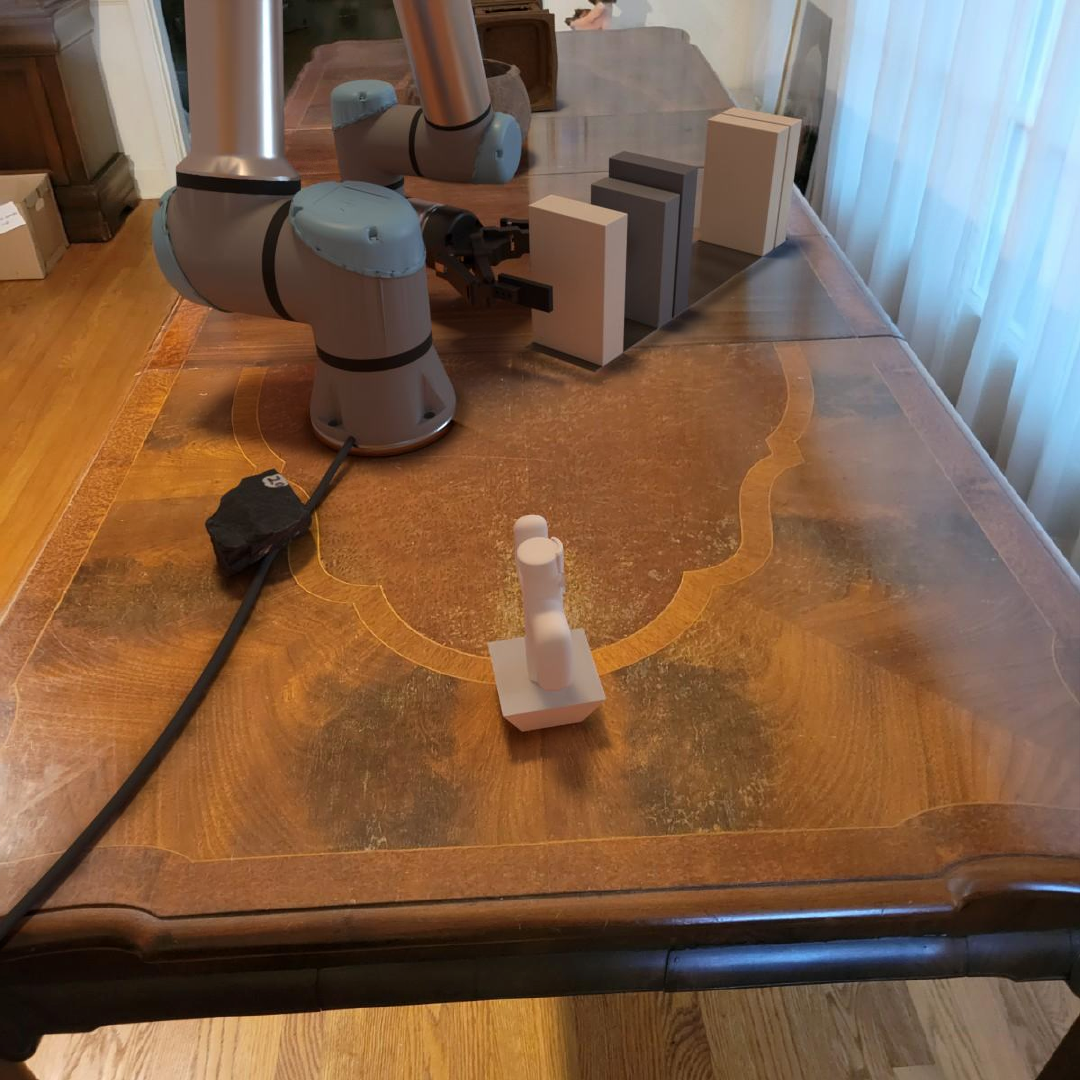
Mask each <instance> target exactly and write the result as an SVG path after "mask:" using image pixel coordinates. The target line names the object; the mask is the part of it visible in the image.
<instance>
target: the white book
mask: <svg viewBox="0 0 1080 1080" xmlns="http://www.w3.org/2000/svg"><path fill="white" fill-rule="evenodd" d="M627 215H628V214H626V213H623V212H619V211H615V210H611V209H607V208H603V207H599V206H595V205H591V203H587V202H583V201H579V200H575V199H571V198H567V197H563V196H560V195H556V194H552V193H551V194H549V195H547V196H545V197H543V198H541V199H538V200H537V201H535V202H532V203H530V204H528V219H529V239H530V253H529V268H530V269H529V270H530V280H531V281H535V282H539V283H543V284H547V285H551V286H553V311H552V312H550V313H547V312H543V311H540V310H536V309H532V308H531V331H532V332H531V333H532V342H535V343H538V344H541V345H544V346H546V347H549V348H552V349H555V350H558V351H561V352H563V353H566V354H569V355H572V356H575V357H578V358H580V359H583V360H586V361H589V362H592V363H595V364H597V365H600V366H603V367H605V366H606V365H608V364H609V363H611V362H612V361H614V360H615V359H616V358H618V357H619V356H621V355H622V354H624V353H623V335H624V305H625V275H626V245H627ZM621 353H622V354H621ZM620 354H621V355H620ZM618 355H619V356H618ZM617 356H618V357H617ZM614 358H615V359H614ZM613 359H614V360H613ZM611 360H612V361H611ZM610 361H611V362H610ZM608 362H609V363H608ZM607 363H608V364H607ZM605 364H606V365H605ZM604 365H605V366H604Z"/></svg>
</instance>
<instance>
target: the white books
mask: <svg viewBox="0 0 1080 1080" xmlns="http://www.w3.org/2000/svg"><path fill="white" fill-rule="evenodd" d="M802 123H803V119H801V118H796V117H795V118H794V117H789V116H784V115H778V114H773V113H767V112H762V111H756V110H750V109H746V108H739V107H730V108H729V109H726V110H724V111H722V112H721V113H719V114H716V115H714V116H712V117H710V118H708V119H707V124H706V125H707V126H706V137H705V139H706V140H705V151H704V164H703V165H704V166H703V177H702V189H701V201H700V213H699V226H698V237H697V239H698V240H701V241H705V242H708V243H712V244H716V245H720V246H724V247H728V248H732V249H735V250H739V251H743V252H747V253H751V254H755V255H758V256H763V257H765V256H767V255H768V254H769V253H771V252H772V251H774V250H773V248H775V249H777V248H778V247H780V246H781V245H782V244H784V243H786V241H785V239H786V238H787V231H788V223H789V217H790V209H791V201H792V195H793V188H794V182H795V181H794V180H795V173H796V165H797V160H798V159H797V158H798V151H799V144H800V138H801V137H800V136H801V130H802ZM698 240H697V241H698ZM783 242H784V243H783ZM780 244H781V245H780ZM777 246H778V247H777ZM776 247H777V248H776ZM771 250H772V251H771ZM770 251H771V252H770ZM768 252H769V253H768ZM767 253H768V254H767ZM764 255H765V256H764Z"/></svg>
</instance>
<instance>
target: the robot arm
mask: <svg viewBox="0 0 1080 1080" xmlns="http://www.w3.org/2000/svg"><path fill="white" fill-rule="evenodd" d="M392 3H393V7H394V10H395V14H396V17H397V21H398V25H399V28H400V33H401V36H402V40H403V43H404V48H405V51H406V54H407V58H408V62H409V66H410V69H411V72H412V75H413V77H414V80H415V84H416V88H417V91H418V95H419V99H420V102H421V106H422V107H421V106H410V105H404V104H399V100H398V97H397V94H396V89H395V87H394V85H393V84H392V83H390V82H389V81H388V82H387V81H383V80H380V79H356V80H349V81H346V82H342V83H340V84H339V85H337V86H335V87H334V88H333V89H332V91H331V92H330V111H331V123H332V126H331V131H332V132H333V138H334V146H335V151H336V159H337V164H338V166H337V167H338V171H339V178H340V182H336V181H334V180H329V181H323V182H318V183H314V184H311V185H308V186H305V187H302V175H301V174H300V173H299V172H298V171H297V170H296V168H295V167H294V166H293V165H292V164H291V163H290V162H289V161H288V159H287V156H286V150H285V149H286V148H285V147H286V143H285V142H286V141H285V137H286V136H285V83H284V82H285V80H284V79H285V77H284V76H285V75H284V71H285V70H284V17H283V16H284V15H283V13H284V11H283V10H284V9H283V7H284V6H283V0H183V4H184V5H183V6H184V7H183V8H184V27H185V47H186V67H187V86H188V88H187V89H188V106H189V107H188V108H189V126H190V128H189V129H190V150H189V151H188V153H187V155H186V156H184V158H183V159H182V160H181V161H180V162H179V163H178V164H176V165H175V182H176V183H175V185H174V186H172V187H170V188H169V189H167V190H166V191H165V192H164V193H163V194H161V195H162V196H160V198H159V200H158V201H157V202H158V206H159V208H158V209H157V208H156V209H155V210H154V212H153V215H152V223H151V224H152V225H151V238H152V247H153V251H154V255H155V259H156V261H157V264H158V268H159V269H160V271H161V273H162V275H163V276H164V278H165V281H166V282H167V283H168V285H170V286H171V288H174V290H176V292H177V294H178V295H179V296H180V297H182V298H183V299H185V300H186V301H188V302H190V303H193V304H194V305H198V306H202V307H207V308H211V309H213V310H216V311H218V312H221V313H224V314H233V313H238V314H243V315H250V316H256V317H263V318H268V319H275V320H281V321H286V322H295V323H299V324H300V323H301V324H306V325H308V326H310V327H311V331H312V335H313V339H314V345H315V350H316V354H317V355H316V356H317V362H316V367H315V374H314V378H313V379H314V380H313V386H312V391H311V397H310V404H309V412H310V413H309V415H310V421H311V426H312V430H313V433H314V435H315V437H316V438H317V439H318V440H319V441H320V442H321V443H322V444H324V445H325V446H327V447H329V448H331V449H333V450H335V451H337V454H336V456H335V457H334V458H333V460H332V461H331V464H330V465H329V467H328V468H327V470H326V471H325V473H324V475H323V476H322V479H321V480H320V482H319V483H318V485H317V487H316V489H315V490H314V491H313V493H312V495H311V496H310V497H309V498H308V500H307V501H306V502H305V503H304V504H305V506H306V507H307V509H308V511H309V512H310V513H311V512H312V510H313V509H314V508H315V507H316V505H317V504H318V502H319V501H320V500H321V499H322V497H323V496H324V494H325V492H326V490H327V488H328V487H329V485H330V483H331V482H332V480H333V478H334V477H335V475H336V473H337V472H338V470H339V468H340V467H341V465H342V464H343V463H344V461H345V459H346V458H347V456H348V455H352V456H353V455H354V456H360V457H387V456H396V455H400V454H405V453H409V452H413V451H415V450H419V449H421V448H424V447H426V446H428V445H430V444H432V443H435V442H436V441H437V440H439V439H440V438H442V437H443V436H445V434H447V433H448V432H449V431H450V430H451V428H452V427H453V425H454V424H455V423H456V420H455V419H453V417H454V415H455V413H456V411H457V406H458V405H457V404H458V403H457V402H458V401H457V396H456V392H455V389H454V386H453V384H452V382H451V380H450V377H449V375H448V374H447V371H446V369H445V367H444V365H443V363H442V361H441V358H440V356H439V354H438V352H437V350H436V348H435V346H434V339H433V338H434V337H433V329H432V318H431V307H430V297H429V286H428V276H427V269H431V270H433V271H435V276H436V277H437V278H440V279H442V280H444V281H447V282H448V283H449V285H451V286H452V288H454V289H455V291H456V292H457V293H459V294H460V295H461V297H462V298H463V299H465V301H466V302H468V304H470V305H471V306H474V307H476V306H479V305H481V304H482V300H484V305H485V307H486V308H495V307H496V306H497V300H500V301H504V302H507V303H511V304H515V305H518V306H522V307H525V308H529V309H531V310H532V309H536V310H540V311H543V312H547V313H550V312H552V311H553V286H551V285H547V284H543V283H539V282H535V281H531V279H528V278H524V277H520V276H517V275H512V274H508V273H504V272H500V273H498V274H497V279H496V275H495V273H494V271H493V268H492V267H496V266H499V265H500V264H501V263H502V262H503V261H507V260H514V259H515V260H517V259H521V258H522V256H523V255H524V254H525V255H526V254H530V239H529V218H528V219H527V218H525V219H524V218H522V219H521V218H520V219H519V218H513V217H506V216H505V217H500V218H499V226H496V225H487V226H484V225H483V224H482V222H481V220H479V218H478V216H477V215H476V214H475V213H474V212H473V211H471V210H469V209H465V208H461V207H456V206H451V205H447V204H443V203H442V202H438V201H437V202H436V201H431V200H428V199H423V198H417V197H413V196H410V195H406V193H405V177H413V178H414V177H415V178H426V179H435V180H443V181H451V182H459V183H469V184H471V185H475V186H476V185H490V186H491V185H492V186H493V185H494V186H495V185H496V186H497V185H499V186H500V185H505V184H507V183H509V182H510V181H511V180H512V179H513V177H514V176H515V173H516V172H517V171H518V168H519V165H520V162H521V156H522V144H523V142H522V141H521V131H520V127H519V125H518V123H517V122H516V120H515V118H514V117H513V116H512V115H509V114H503V113H502V112H499V111H498V112H494V111H493V107H492V103H491V99H490V95H489V91H488V85H487V80H486V75H485V70H484V65H483V60H482V55H481V50H480V45H479V40H478V35H477V30H476V25H475V20H474V15H473V10H472V5H471V0H392ZM301 188H303V189H302V190H301ZM512 243H513V249H512ZM470 270H471V271H472V272H473V273H472V272H471V271H470ZM279 551H280V550H279V549H276V550H274V551H272V552H269V553H268V554H266V555H265V556H264V557H263V559H262V560H260V563H259V565H258V567H257V569H256V571H255V573H254V576H253V578H252V580H251V582H250V585H249V587H248V589H247V592H246V594H245V595H244V597H243V600H242V601H241V604H240V605H239V607H238V609H237V610H236V613H235V614H234V617H233V619H232V620H231V622H230V624H229V626H228V628H227V629H226V631H225V632H224V633H225V634H224V635H223V637H222V638H221V641H220V642H219V643H218V646H217V647H216V649H215V651H214V652H213V655H212V656H211V658H210V659H209V660H208V663H207V664H206V666H205V667H204V669H203V670H202V672H201V674H200V675H199V677H198V679H197V680H196V682H194V685H193V686H192V688H191V690H190V691H189V693H188V694H187V696H186V697H185V699H184V700H183V701H182V704H181V705H180V706H179V708H178V710H177V711H176V712H175V714H174V715H173V716H172V718H171V720H170V721H169V722H168V724H167V725H166V726H165V728H164V729H163V731H162V732H161V733H160V735H159V736H158V737H157V739H156V740H155V742H154V743H153V745H152V746H151V747H150V748H149V750H148V751H147V753H146V754H145V755H144V756H143V758H142V759H141V760H140V762H139V763H138V764H137V766H136V767H135V768H134V770H133V771H132V772H131V773H130V775H128V777H127V778H126V780H125V781H124V782H123V783H122V785H121V786H120V787H119V789H118V790H117V791H116V792H115V794H114V795H113V796H112V797H111V798H110V800H108V802H107V803H106V804H105V805H104V806H103V808H102V809H101V810H100V811H99V812H98V813H97V815H96V816H95V817H94V818H93V819H92V821H91V822H90V823H89V824H88V825H87V826H86V827H85V829H83V831H82V832H80V834H79V835H78V837H76V839H74V841H73V842H72V844H71V845H70V846H69V847H68V848H66V850H65V851H64V852H63V854H62V855H61V856H60V857H59V858H58V859H57V860H56V862H54V863H53V865H51V866H50V868H49V869H48V870H47V871H46V872H45V873H44V874H43V876H42V877H41V878H40V879H39V880H38V881H37V882H36V883H35V884H34V885H33V886H32V887H31V888H30V889H29V890H28V892H27V893H26V894H25V895H24V896H23V897H22V898H21V899H20V900H19V901H18V902H17V903H16V904H15V905H14V906H13V907H12V908H11V909H10V910H9V911H8V912H7V913H6V914H5V915H4V916H3V917H2V918H1V919H0V941H1V940H3V938H5V936H6V935H7V934H8V933H9V932H10V931H11V930H13V928H14V927H15V926H16V925H17V924H18V923H19V921H21V919H23V918H24V916H26V914H28V912H29V911H30V910H32V908H33V907H34V906H35V905H36V904H37V902H38V901H39V900H40V899H41V898H42V897H43V896H44V895H45V894H46V893H47V892H48V891H49V890H50V888H51V887H52V886H53V885H54V884H55V883H56V882H57V881H58V880H59V879H60V878H61V876H62V875H63V874H64V873H65V872H66V871H67V869H68V868H69V867H70V866H71V865H72V864H73V863H74V862H75V860H76V859H78V857H79V856H80V855H81V854H82V853H83V852H84V850H85V849H86V848H87V847H88V846H89V844H90V843H91V842H92V841H93V840H94V839H95V837H96V836H97V835H98V834H99V833H100V832H101V831H102V829H103V828H104V827H105V826H106V825H107V823H108V822H109V821H110V820H111V819H112V817H113V816H114V815H115V814H116V813H117V812H118V810H119V809H120V807H122V806H123V803H125V802H126V800H128V798H129V796H131V794H132V793H133V792H134V790H135V789H136V788H137V786H138V785H139V784H140V783H141V781H142V780H143V779H144V777H145V776H146V775H147V773H149V770H151V768H152V766H153V765H154V764H155V763H156V761H157V760H158V758H159V757H160V756H161V755H162V753H163V752H164V751H165V749H166V748H167V746H168V745H169V744H170V742H172V739H173V738H174V737H175V735H176V734H177V733H178V731H179V729H180V728H181V727H182V725H183V723H184V722H185V721H186V719H187V718H188V716H189V715H190V713H191V712H192V710H193V709H194V707H195V705H196V704H197V702H198V701H199V700H200V698H201V696H202V695H203V693H204V691H205V690H206V688H207V686H208V685H209V684H210V682H211V681H212V678H213V677H214V675H215V674H216V672H217V671H218V669H219V667H220V665H221V663H222V662H223V660H224V658H225V657H226V655H227V653H228V652H229V649H230V648H231V645H232V644H233V642H234V640H235V639H236V637H237V635H238V633H239V631H240V629H241V627H242V625H243V623H244V622H245V620H246V618H247V616H248V614H249V613H250V610H251V608H252V606H253V604H254V602H255V600H256V598H257V595H258V594H259V591H260V589H261V587H262V585H263V582H264V579H265V578H266V576H267V573H268V570H269V568H270V567H271V565H272V562H273V561H274V559H275V557H276V555H277V554H278V553H279Z"/></svg>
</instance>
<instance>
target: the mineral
mask: <svg viewBox="0 0 1080 1080" xmlns="http://www.w3.org/2000/svg"><path fill="white" fill-rule="evenodd" d="M305 504H306V503H304V502H302V500H301V499H300V498H299V496H298V494H297V493H296V492H295V491H294V489H293V487H292V486H291V485H290V483H289V482H288V480H287V479H286V478H285V476H284V475H283V474H282V473H281V472H279V471H278V470H277V469H276V468H270V469H268V470H265V471H263V472H261V473H259V474H253V475H249V476H246V477H243V478H241V480H240V481H239V483H238V485H237V486H235V487H233V488H231V489H230V490H228V491H227V492H225V493H224V494H223V495H222V496H221V497H220V500H219V504H218V507H217V509H216V511H215V512H214V513H212V515H211V516H208V518H206V520H205V522H204V526H205V530H206V532H207V534H208V536H209V537H210V538H209V540H210V542H211V545H212V549H213V553H214V555H215V560H216V564H217V566H218V567H219V569H220V571H221V572H222V573H223V574H224V576H225V577H231V576H233V575H235V574H239V573H240V572H242V571H244V570H246V569H247V568H249V567H251V566H253V565H254V564H257V563H259V562H261V561H262V559H263V557H264V556H265V555H266V554H268V553H269V552H272V551H274V550H276V549H279V551H281V550H282V549H284V548H286V547H287V546H289V545H290V544H291V543H293V542H294V541H296V540H298V539H301V538H302V537H303V536H304V535H305V534H306V533H307V532H308V530H310V528H311V527H312V524H313V519H312V514H311V512H309V511H308V509H307V507H306V506H305Z"/></svg>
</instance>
